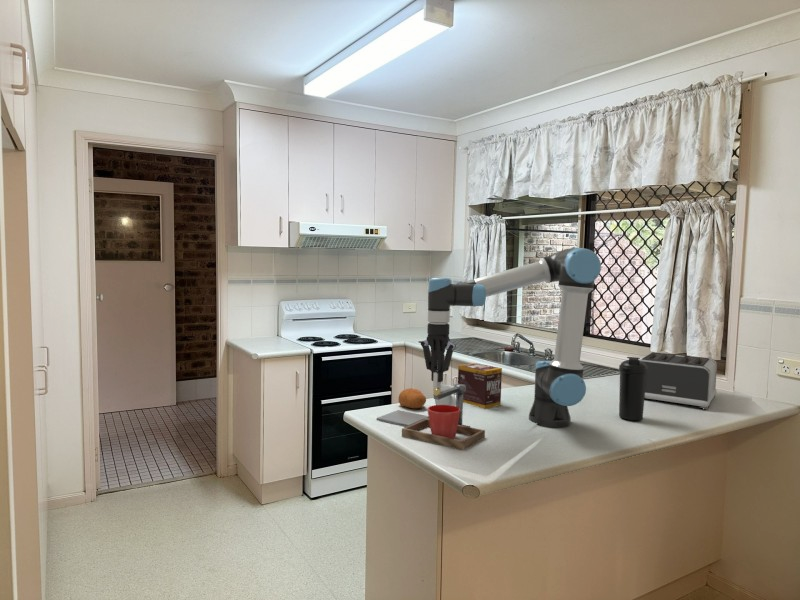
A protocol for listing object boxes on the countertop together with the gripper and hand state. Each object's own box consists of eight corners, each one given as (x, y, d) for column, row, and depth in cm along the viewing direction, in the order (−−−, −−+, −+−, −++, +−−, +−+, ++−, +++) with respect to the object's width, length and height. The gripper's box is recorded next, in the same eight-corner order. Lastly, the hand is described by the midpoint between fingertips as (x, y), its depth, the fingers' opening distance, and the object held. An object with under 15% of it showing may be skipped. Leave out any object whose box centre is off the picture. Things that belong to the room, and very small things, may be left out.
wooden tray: (484, 437, 187) (484, 430, 187) (463, 450, 174) (463, 442, 174) (425, 425, 200) (425, 418, 199) (401, 435, 187) (401, 428, 187)
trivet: (429, 418, 208) (429, 416, 208) (408, 427, 197) (408, 424, 197) (397, 412, 216) (397, 410, 216) (376, 420, 205) (376, 418, 204)
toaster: (717, 394, 259) (719, 356, 258) (708, 410, 230) (710, 367, 229) (646, 385, 277) (648, 349, 275) (629, 398, 247) (631, 358, 246)
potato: (413, 403, 230) (414, 385, 229) (430, 409, 221) (431, 391, 220) (395, 406, 225) (395, 388, 224) (412, 413, 215) (412, 393, 215)
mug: (462, 412, 217) (463, 389, 216) (446, 415, 213) (447, 391, 212) (445, 406, 226) (446, 383, 225) (430, 409, 222) (430, 385, 221)
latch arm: (467, 390, 196) (467, 380, 195) (440, 401, 180) (440, 390, 179) (457, 389, 198) (457, 378, 198) (429, 399, 182) (429, 388, 182)
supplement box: (485, 409, 223) (486, 370, 222) (456, 401, 235) (457, 364, 234) (501, 405, 230) (502, 367, 229) (473, 398, 241) (474, 362, 240)
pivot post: (470, 428, 197) (471, 392, 196) (462, 432, 192) (463, 395, 191) (455, 425, 200) (456, 389, 199) (446, 429, 195) (447, 392, 194)
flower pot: (424, 432, 192) (425, 404, 191) (456, 431, 193) (457, 404, 192) (429, 442, 181) (429, 412, 180) (462, 441, 182) (463, 412, 181)
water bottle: (643, 415, 220) (647, 357, 218) (646, 422, 210) (649, 361, 208) (616, 412, 223) (619, 355, 221) (617, 419, 213) (620, 359, 212)
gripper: (460, 323, 191) (458, 391, 193) (427, 320, 198) (426, 386, 200) (450, 325, 185) (448, 395, 187) (416, 322, 192) (415, 390, 194)
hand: (436, 390), depth 193 cm, fingers closed
